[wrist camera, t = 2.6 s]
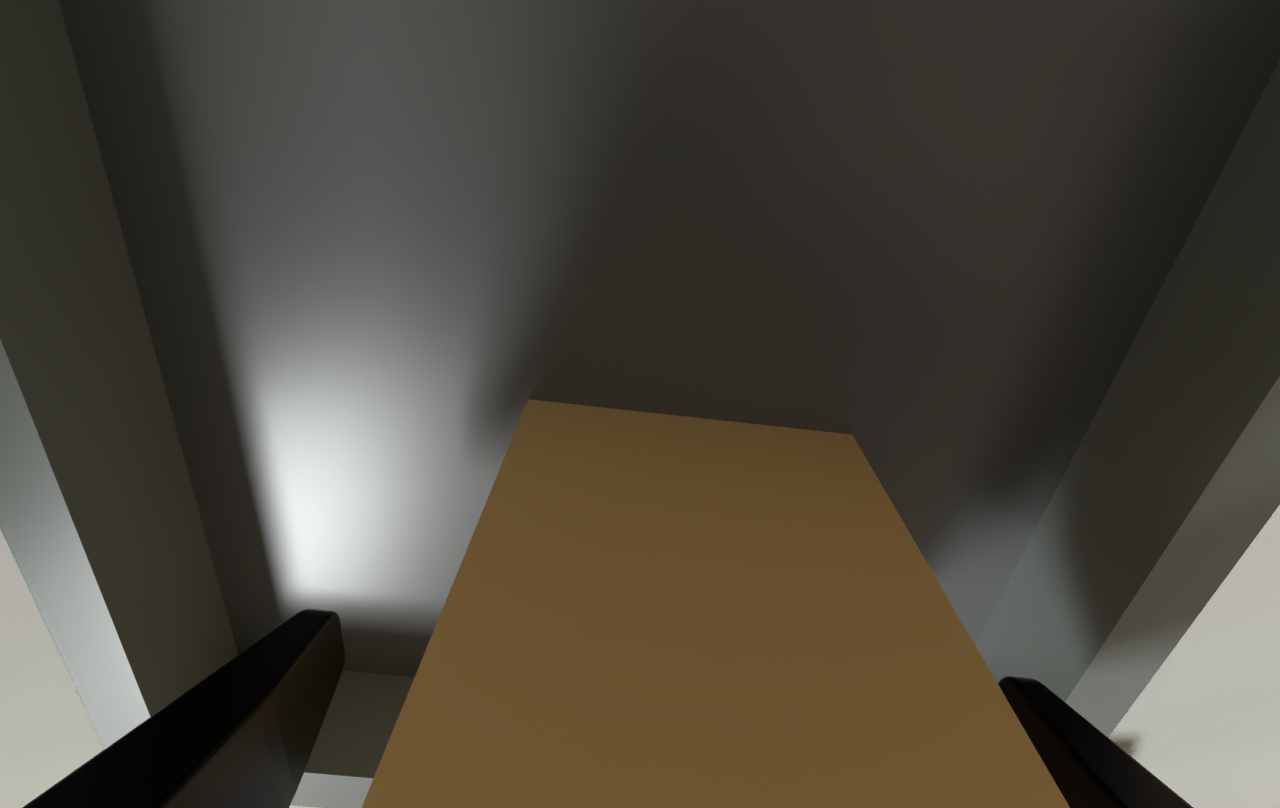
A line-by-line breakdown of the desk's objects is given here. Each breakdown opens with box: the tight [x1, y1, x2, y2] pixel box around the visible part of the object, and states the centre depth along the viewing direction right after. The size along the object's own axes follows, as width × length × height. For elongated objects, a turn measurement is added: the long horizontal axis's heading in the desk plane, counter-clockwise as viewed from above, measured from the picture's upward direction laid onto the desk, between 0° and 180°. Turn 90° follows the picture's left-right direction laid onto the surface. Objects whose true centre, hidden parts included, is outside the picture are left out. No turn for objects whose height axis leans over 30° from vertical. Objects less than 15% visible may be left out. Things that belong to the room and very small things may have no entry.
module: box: [362, 399, 1070, 808], centre depth 7 cm, size 5×5×8 cm
